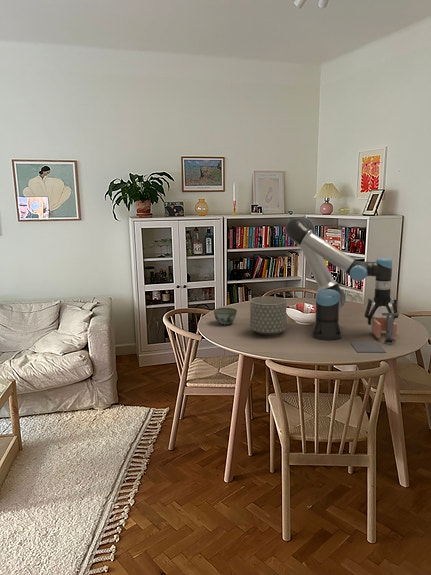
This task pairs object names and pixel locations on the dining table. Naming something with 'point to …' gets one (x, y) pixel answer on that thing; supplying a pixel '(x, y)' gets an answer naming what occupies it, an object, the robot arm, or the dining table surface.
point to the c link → (381, 326)
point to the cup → (381, 311)
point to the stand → (389, 327)
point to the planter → (268, 315)
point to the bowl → (225, 315)
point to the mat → (367, 347)
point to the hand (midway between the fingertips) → (380, 330)
